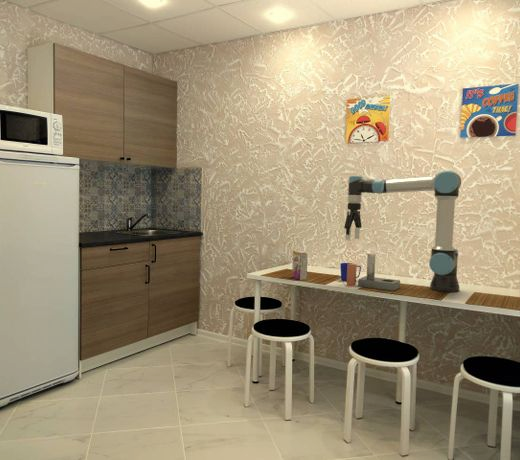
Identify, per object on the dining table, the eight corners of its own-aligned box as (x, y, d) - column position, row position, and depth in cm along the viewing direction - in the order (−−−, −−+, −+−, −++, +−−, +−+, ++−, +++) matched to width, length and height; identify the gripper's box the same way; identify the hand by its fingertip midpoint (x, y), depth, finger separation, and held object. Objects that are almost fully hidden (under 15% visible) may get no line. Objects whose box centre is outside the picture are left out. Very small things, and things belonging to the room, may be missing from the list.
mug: (360, 282, 270) (361, 265, 270) (339, 281, 273) (340, 264, 272) (360, 279, 278) (360, 263, 278) (340, 278, 281) (340, 262, 280)
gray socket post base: (399, 287, 258) (401, 255, 257) (393, 290, 248) (395, 257, 247) (365, 283, 269) (366, 252, 267) (357, 286, 258) (359, 254, 257)
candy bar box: (291, 277, 282) (292, 250, 281) (298, 276, 284) (299, 250, 283) (299, 280, 272) (300, 252, 270) (307, 280, 274) (308, 252, 272)
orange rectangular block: (355, 285, 261) (356, 264, 260) (353, 286, 258) (354, 265, 257) (349, 284, 263) (349, 263, 262) (346, 285, 260) (347, 264, 259)
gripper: (356, 202, 276) (354, 237, 278) (339, 202, 255) (337, 240, 257) (368, 203, 272) (366, 238, 274) (352, 203, 251) (350, 241, 253)
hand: (352, 239), depth 266 cm, fingers open, 13 cm apart
